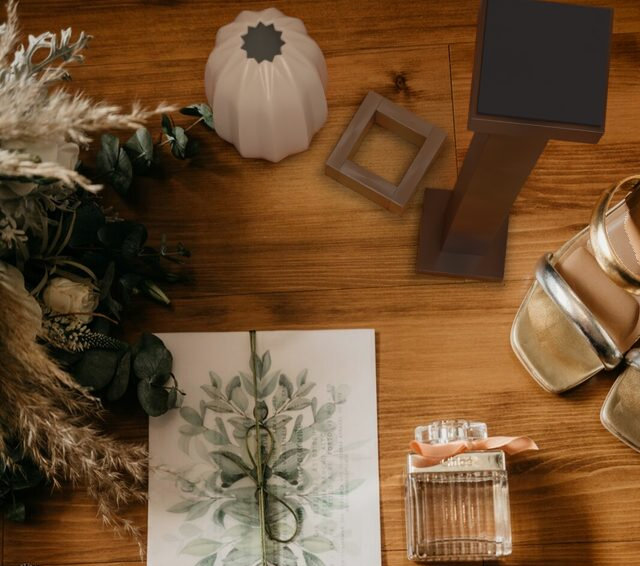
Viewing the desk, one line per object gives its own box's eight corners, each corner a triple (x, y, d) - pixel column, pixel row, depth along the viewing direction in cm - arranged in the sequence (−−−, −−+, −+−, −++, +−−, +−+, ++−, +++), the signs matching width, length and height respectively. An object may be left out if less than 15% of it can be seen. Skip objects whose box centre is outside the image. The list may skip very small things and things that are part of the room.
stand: (444, 144, 85) (448, 132, 83) (401, 217, 84) (403, 207, 82) (368, 102, 86) (370, 89, 83) (324, 174, 85) (325, 163, 82)
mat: (609, 12, 54) (610, 9, 54) (599, 127, 53) (601, 125, 53) (487, -1, 54) (488, -4, 54) (476, 114, 53) (477, 111, 53)
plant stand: (508, 201, 85) (614, 7, 54) (501, 283, 84) (605, 133, 53) (424, 192, 85) (482, -7, 54) (415, 273, 84) (470, 118, 53)
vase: (319, 182, 85) (319, 114, 71) (203, 164, 85) (182, 93, 72) (337, 73, 86) (341, -13, 73) (223, 56, 86) (205, -34, 73)
